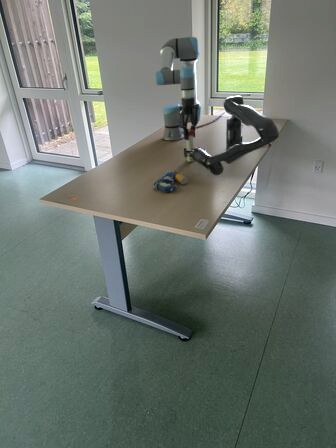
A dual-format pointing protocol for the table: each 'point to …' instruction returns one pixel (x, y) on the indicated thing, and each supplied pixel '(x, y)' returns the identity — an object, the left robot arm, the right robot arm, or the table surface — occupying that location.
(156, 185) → the spray gun
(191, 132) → the lid
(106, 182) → the table surface
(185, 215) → the table surface
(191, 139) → the bottle
